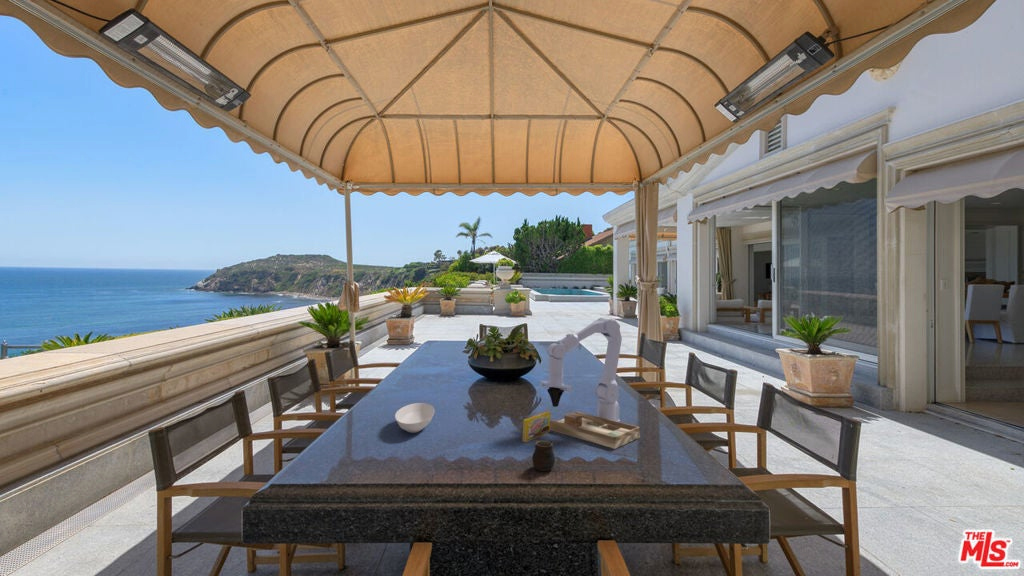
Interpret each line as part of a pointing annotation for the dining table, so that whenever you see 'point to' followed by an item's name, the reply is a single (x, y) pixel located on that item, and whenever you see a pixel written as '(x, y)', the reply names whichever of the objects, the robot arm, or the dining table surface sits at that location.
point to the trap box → (599, 430)
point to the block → (573, 419)
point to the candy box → (536, 426)
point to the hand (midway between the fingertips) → (555, 406)
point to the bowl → (414, 416)
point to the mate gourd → (543, 456)
